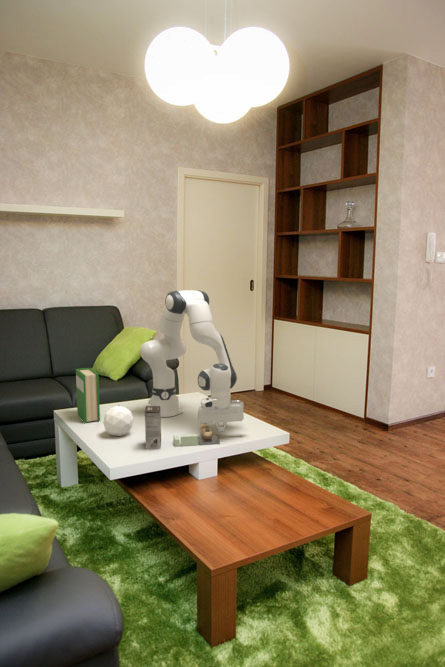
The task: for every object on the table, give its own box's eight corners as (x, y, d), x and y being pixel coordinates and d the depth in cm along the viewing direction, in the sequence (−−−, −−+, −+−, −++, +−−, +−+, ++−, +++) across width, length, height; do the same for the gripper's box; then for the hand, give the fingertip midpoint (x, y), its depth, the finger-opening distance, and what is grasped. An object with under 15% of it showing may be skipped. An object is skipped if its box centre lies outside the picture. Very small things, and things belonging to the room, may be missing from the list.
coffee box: (146, 442, 228) (145, 405, 226) (161, 441, 229) (160, 405, 227) (145, 449, 219) (144, 411, 217) (160, 448, 220) (160, 411, 218)
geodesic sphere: (99, 418, 245) (101, 399, 236) (128, 414, 250) (132, 396, 241) (104, 443, 236) (106, 424, 227) (134, 439, 241) (138, 421, 232)
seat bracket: (173, 441, 228) (173, 432, 228) (195, 440, 230) (195, 431, 230) (174, 446, 222) (174, 437, 222) (197, 445, 224) (197, 436, 224)
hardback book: (100, 421, 259) (98, 373, 256) (84, 423, 256) (83, 375, 253) (91, 413, 275) (90, 367, 272) (77, 414, 272) (75, 368, 269)
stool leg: (212, 439, 228) (212, 430, 227) (204, 439, 227) (204, 430, 226) (207, 429, 241) (207, 421, 241) (199, 430, 240) (199, 421, 240)
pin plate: (196, 438, 233) (196, 436, 233) (216, 437, 234) (216, 435, 234) (199, 445, 224) (198, 442, 224) (219, 443, 226) (219, 441, 226)
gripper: (242, 398, 238) (242, 428, 239) (197, 400, 234) (197, 430, 236) (245, 401, 232) (245, 432, 233) (199, 404, 228) (199, 435, 229)
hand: (220, 431), depth 234 cm, fingers closed
